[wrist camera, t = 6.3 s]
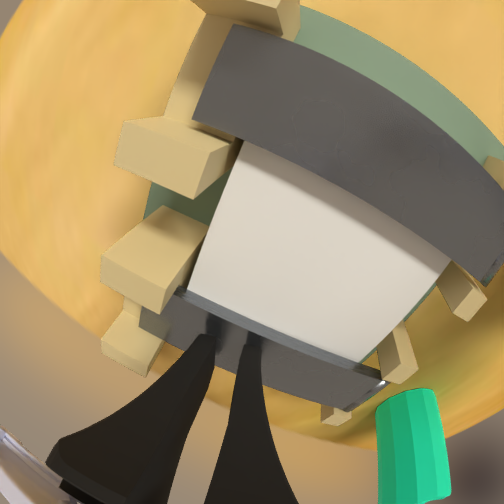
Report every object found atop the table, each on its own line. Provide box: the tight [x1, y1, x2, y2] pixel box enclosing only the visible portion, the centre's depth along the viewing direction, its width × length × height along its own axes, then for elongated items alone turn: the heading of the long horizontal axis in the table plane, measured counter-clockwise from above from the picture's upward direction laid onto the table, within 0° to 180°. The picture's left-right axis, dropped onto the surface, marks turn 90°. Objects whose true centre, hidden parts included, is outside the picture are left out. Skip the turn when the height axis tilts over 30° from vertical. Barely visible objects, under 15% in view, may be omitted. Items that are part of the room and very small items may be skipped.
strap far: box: [138, 285, 391, 412], centre depth 11 cm, size 11×3×1 cm, turn 66°
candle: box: [375, 388, 451, 504], centre depth 13 cm, size 6×6×12 cm
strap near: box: [191, 23, 504, 287], centre depth 6 cm, size 11×3×1 cm, turn 66°
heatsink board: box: [100, 0, 504, 426], centre depth 10 cm, size 14×17×6 cm
